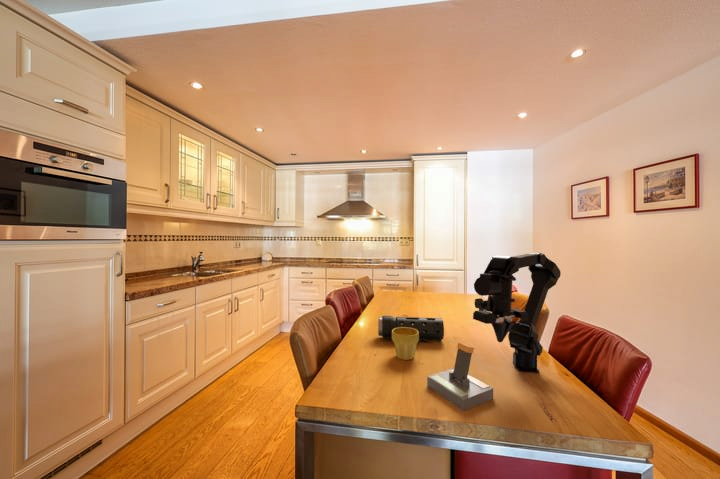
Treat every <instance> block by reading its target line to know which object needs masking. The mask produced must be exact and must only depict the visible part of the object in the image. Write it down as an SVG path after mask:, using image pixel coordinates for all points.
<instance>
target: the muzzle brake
mask: <svg viewBox="0 0 720 479" xmlns="http://www.w3.org/2000/svg"><path fill="white" fill-rule="evenodd" d="M377 322H378V325H377V327H378V328H377V329H378V331H377V334H378V336H379V337H382V338H383V339H392V330H393V329H394V328H398V327H409V328H414V329H416V330H418V332H419V341H428V342H429V341H430V342H431V341H432V342H433V341H434V342H442V341H443V339H444V337H445V326H444V319H443V318H442V317H439V318H438V317H414V316H413V317H411V316H396V317H394V316H393V315H382V316H378V320H377Z"/></svg>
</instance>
